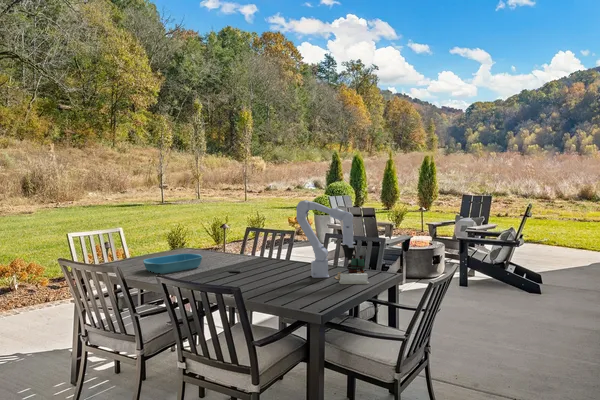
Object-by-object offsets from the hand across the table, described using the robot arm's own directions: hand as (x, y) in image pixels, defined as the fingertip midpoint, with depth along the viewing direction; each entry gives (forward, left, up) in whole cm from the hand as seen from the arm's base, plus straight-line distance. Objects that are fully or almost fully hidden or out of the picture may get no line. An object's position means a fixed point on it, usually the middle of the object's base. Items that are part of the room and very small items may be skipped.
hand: (348, 258), depth 238 cm
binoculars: (+7, +11, -11) cm, 17 cm away
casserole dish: (-101, +31, -11) cm, 106 cm away
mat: (+1, -12, -10) cm, 16 cm away
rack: (+1, -2, -10) cm, 11 cm away
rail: (+1, -12, -10) cm, 16 cm away
